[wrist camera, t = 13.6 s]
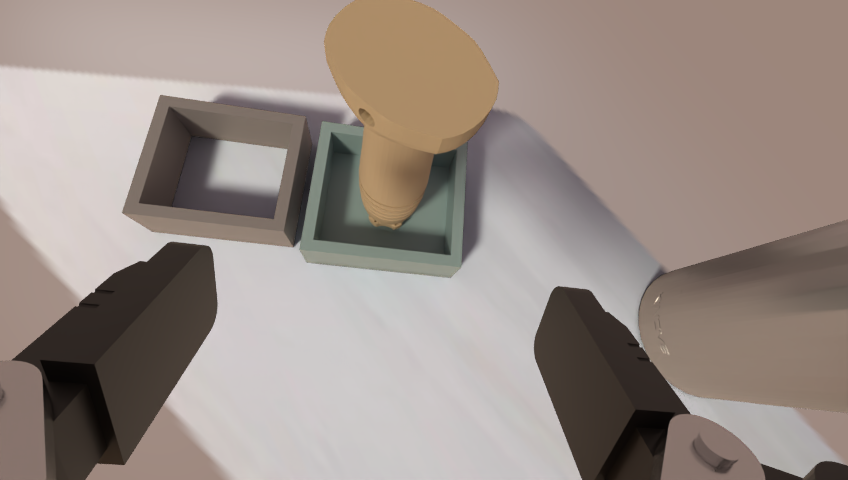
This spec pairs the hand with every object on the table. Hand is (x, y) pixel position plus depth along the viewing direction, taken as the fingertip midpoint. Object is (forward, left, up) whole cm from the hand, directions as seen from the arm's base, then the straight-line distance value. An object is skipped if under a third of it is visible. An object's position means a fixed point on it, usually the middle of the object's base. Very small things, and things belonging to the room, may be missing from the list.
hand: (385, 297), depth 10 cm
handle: (0, -9, -17) cm, 19 cm away
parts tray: (0, -9, -18) cm, 20 cm away
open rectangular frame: (+10, -10, -18) cm, 23 cm away
